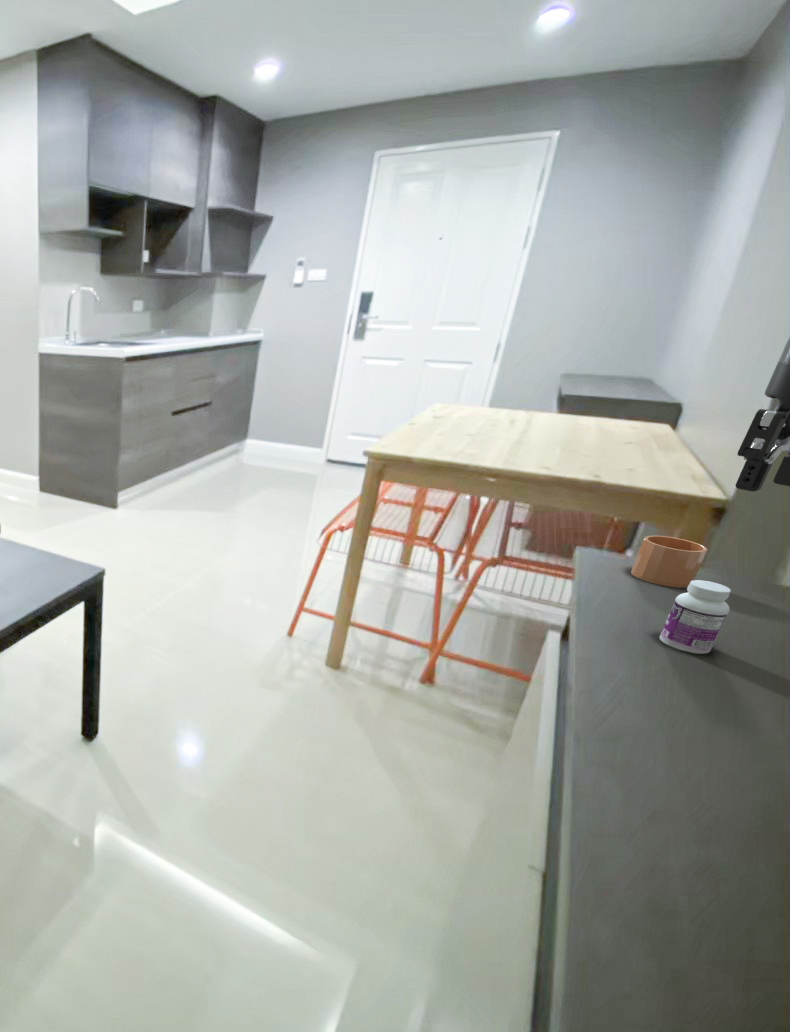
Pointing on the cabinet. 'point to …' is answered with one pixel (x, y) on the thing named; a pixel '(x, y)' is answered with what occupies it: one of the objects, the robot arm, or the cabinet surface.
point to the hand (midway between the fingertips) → (765, 487)
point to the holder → (668, 561)
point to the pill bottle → (696, 617)
